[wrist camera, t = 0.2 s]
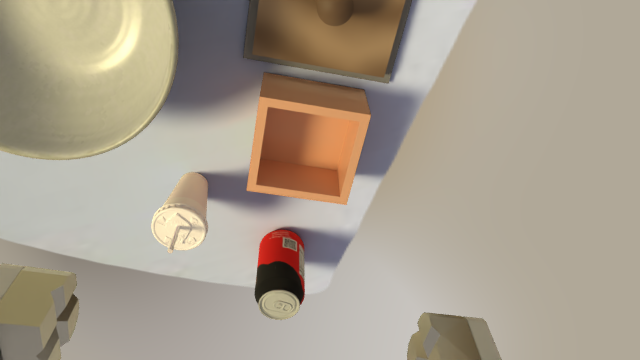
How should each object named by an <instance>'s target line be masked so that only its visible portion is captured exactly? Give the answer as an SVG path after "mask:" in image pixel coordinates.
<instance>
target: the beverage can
mask: <svg viewBox="0 0 640 360" xmlns="http://www.w3.org/2000/svg"><path fill="white" fill-rule="evenodd" d="M304 295H305V289H304V244H303V241H302V240H301V238H300V237H299V236H298V235H297V234H295V233H293V232H291V231H288V230H276V231H272V232H270V233H268V234H267V235H266V236H265V237H264V238H263V239H262V241H261V243H260V248H259V258H258V267H257V277H256V286H255V298H256V301H257V303H258V305H259V310H260V311H261V313H262V314H263V315H265V316H266V317H269V318H271V319H275V320H283V319H288V318H290V317H292V316H294V315H295V314H296V313H297V312H298V310H299V308H300V305H301V304H302V302H303V300H304Z"/></svg>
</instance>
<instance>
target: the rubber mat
mask: <svg viewBox="0 0 640 360" xmlns="http://www.w3.org/2000/svg"><path fill="white" fill-rule="evenodd" d="M411 3H412V0H405V4H404V7H403V11H402V14H401V18H400V22H399V25H398V29H397V32H396V36H395V40H394V43H393V47H392V50H391V54H390V58H389V61H388V65H387V68H386V72H385V76H384V78H382V77H376V76H371V75H365V74H360V73H354V72H348V71H343V70H337V69H331V68H326V67H320V66H315V65H309V64H303V63H298V62H292V61H286V60H281V59H275V58H270V57H264V56H258V55H253V54H252V52H253V44H254V36H255V28H256V20H257V12H258V5H259V0H250V3H249V12H248V21H247V29H246V38H245V46H244V55H243V58H247V59H253V60H258V61H264V62H270V63H275V64H281V65H287V66H292V67H298V68H304V69H309V70H315V71H321V72H326V73H332V74H338V75H343V76H349V77H355V78H360V79H366V80H371V81H377V82H383V83H389V80H390V76H391V73H392V69H393V66H394V62H395V59H396V55H397V52H398V48H399V45H400V41H401V38H402V34H403V31H404V27H405V24H406V20H407V17H408V13H409V10H410V6H411Z"/></svg>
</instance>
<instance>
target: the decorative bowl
mask: <svg viewBox="0 0 640 360" xmlns="http://www.w3.org/2000/svg"><path fill="white" fill-rule="evenodd" d="M177 61H178V26H177V19H176V13H175V8H174V4H173V0H0V150H1V151H4V152H8V153H11V154H15V155H20V156H24V157H30V158H37V159H46V160H70V159H80V158H86V157H91V156H95V155H99V154H102V153H105V152H108V151H110V150H112V149H115V148H117V147H119V146H121V145H123V144H125V143H126V142H128V141H129V140H131V139H132V138H134V137H135V136H137V135H138V134H139V133H140V132H142V131H143V130H144V129H145V128H146V127H147V126H148V125H149V124H150V123H151V121H152V120H153V119H154V118H155V117H156V115H157V114H158V112H159V111H160V110H161V108H162V106H163V104H164V103H165V101H166V99H167V96H168V94H169V92H170V89H171V87H172V84H173V81H174V77H175V73H176V67H177Z"/></svg>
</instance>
